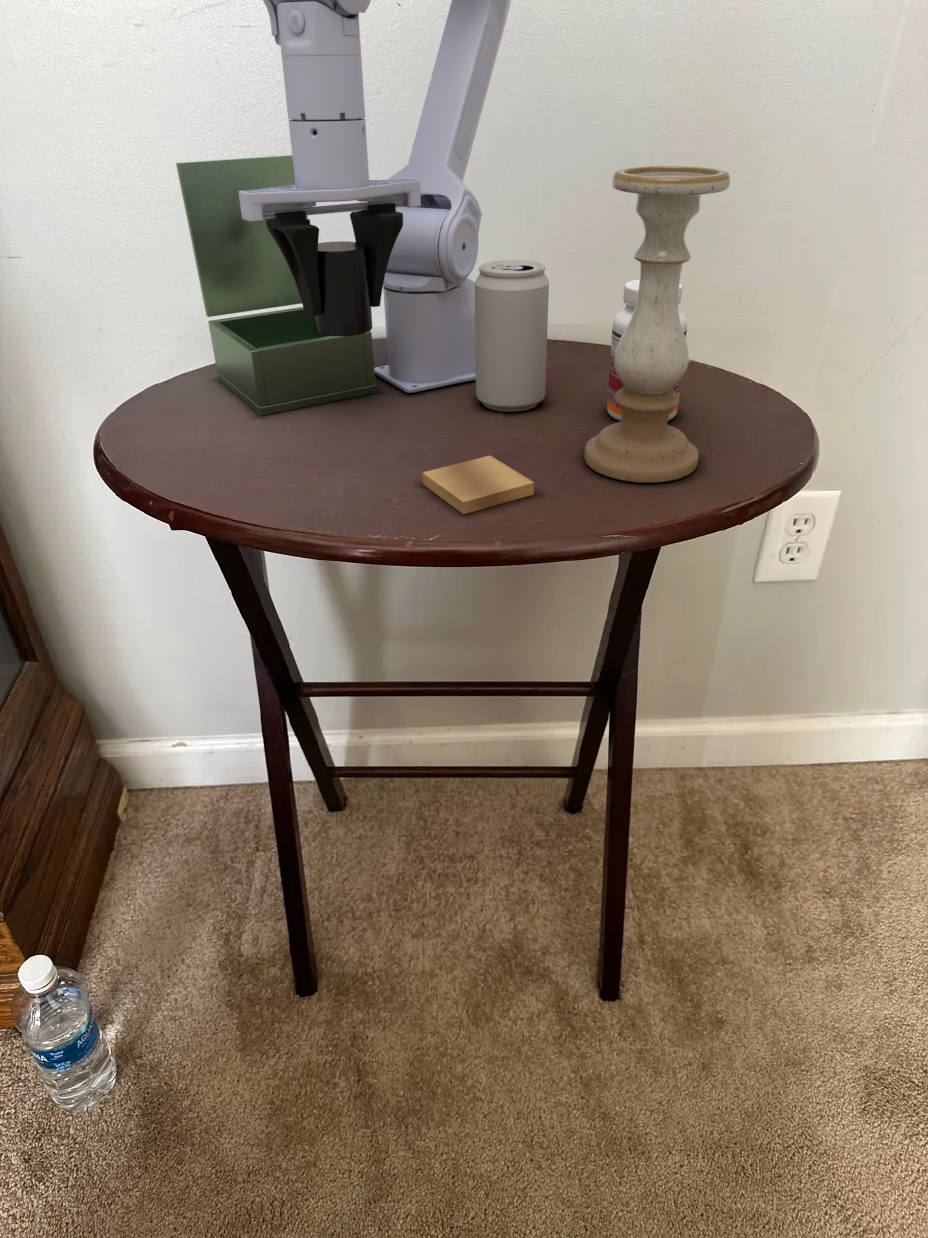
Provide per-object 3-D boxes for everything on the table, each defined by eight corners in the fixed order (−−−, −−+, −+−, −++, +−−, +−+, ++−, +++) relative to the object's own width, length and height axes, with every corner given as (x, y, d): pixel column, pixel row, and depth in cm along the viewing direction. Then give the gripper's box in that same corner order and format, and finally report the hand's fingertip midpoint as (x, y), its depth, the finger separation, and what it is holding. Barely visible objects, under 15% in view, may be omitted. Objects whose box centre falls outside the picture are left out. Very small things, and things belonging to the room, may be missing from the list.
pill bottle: (653, 399, 79) (667, 273, 72) (690, 421, 74) (708, 288, 68) (593, 408, 77) (602, 280, 71) (627, 431, 72) (640, 295, 66)
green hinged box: (376, 392, 81) (371, 331, 78) (260, 416, 76) (250, 351, 73) (324, 360, 90) (318, 304, 87) (218, 379, 85) (207, 320, 82)
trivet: (490, 467, 66) (490, 454, 66) (533, 494, 62) (534, 482, 61) (422, 484, 64) (422, 472, 63) (463, 514, 59) (463, 501, 59)
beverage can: (540, 416, 75) (545, 273, 69) (469, 412, 76) (467, 271, 70) (548, 393, 80) (554, 258, 74) (482, 389, 81) (482, 256, 75)
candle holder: (561, 462, 66) (576, 172, 55) (626, 432, 72) (652, 161, 60) (656, 495, 61) (694, 182, 50) (718, 459, 67) (765, 169, 55)
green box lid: (299, 154, 80) (297, 154, 81) (177, 162, 75) (175, 162, 76) (319, 300, 87) (317, 300, 87) (208, 317, 82) (206, 316, 82)
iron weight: (357, 319, 74) (351, 239, 71) (382, 330, 71) (377, 247, 67) (306, 327, 72) (297, 244, 69) (329, 339, 69) (321, 253, 65)
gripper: (388, 114, 69) (397, 289, 77) (215, 120, 63) (242, 310, 70) (431, 117, 64) (436, 304, 71) (247, 124, 58) (273, 328, 65)
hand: (342, 308), depth 71 cm, fingers closed on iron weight, 5 cm apart
